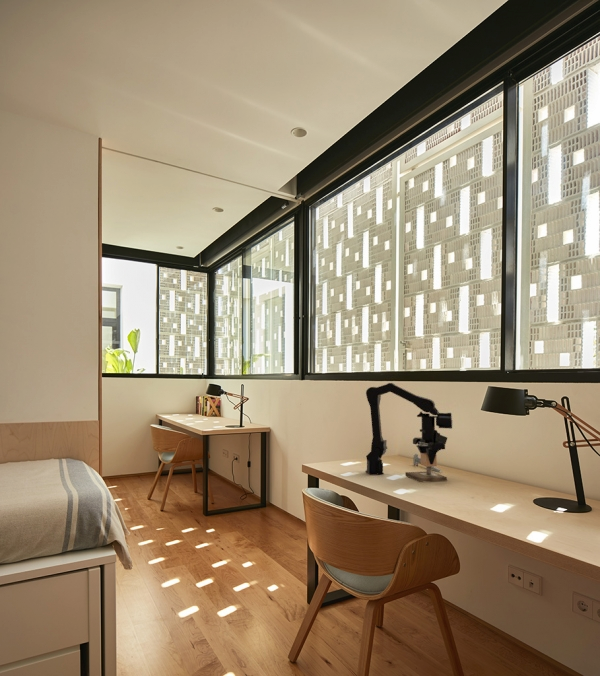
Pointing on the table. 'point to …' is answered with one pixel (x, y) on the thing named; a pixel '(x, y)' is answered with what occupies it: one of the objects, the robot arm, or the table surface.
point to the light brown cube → (427, 460)
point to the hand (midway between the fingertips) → (428, 463)
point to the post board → (426, 475)
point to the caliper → (418, 461)
